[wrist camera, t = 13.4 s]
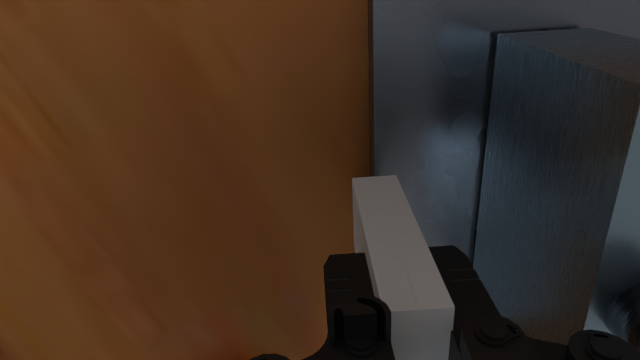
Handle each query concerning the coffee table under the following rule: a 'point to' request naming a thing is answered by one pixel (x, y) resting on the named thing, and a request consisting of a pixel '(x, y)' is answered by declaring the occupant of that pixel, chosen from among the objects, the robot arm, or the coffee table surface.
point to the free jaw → (563, 184)
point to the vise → (453, 94)
